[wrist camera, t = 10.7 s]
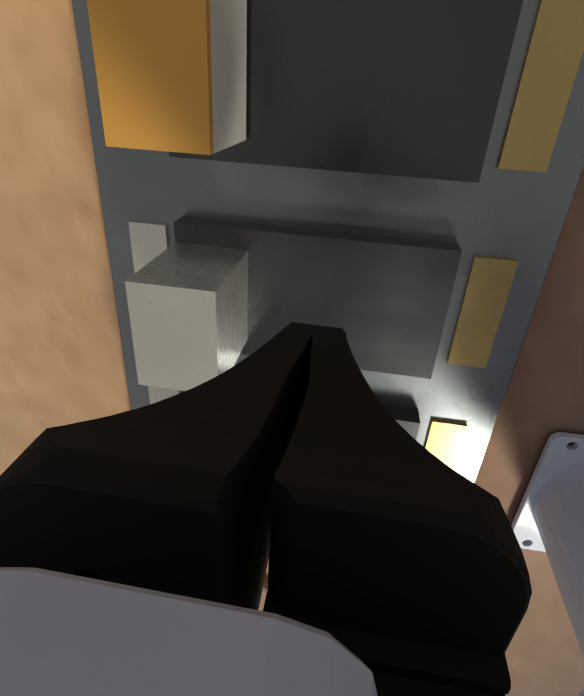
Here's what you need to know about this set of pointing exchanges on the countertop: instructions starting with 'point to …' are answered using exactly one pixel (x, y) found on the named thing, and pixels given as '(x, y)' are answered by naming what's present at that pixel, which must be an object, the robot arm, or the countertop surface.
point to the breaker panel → (360, 204)
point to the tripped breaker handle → (171, 73)
